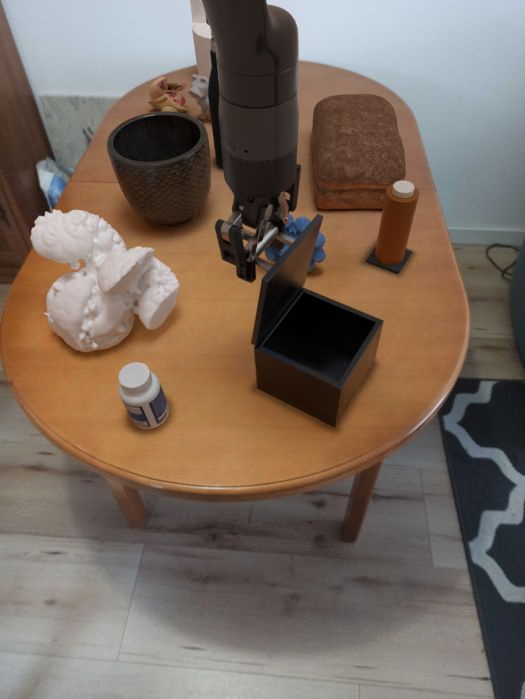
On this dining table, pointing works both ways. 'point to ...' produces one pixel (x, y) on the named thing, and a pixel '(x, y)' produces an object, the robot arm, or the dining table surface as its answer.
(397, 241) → the amber bottle
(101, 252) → the white lumpy sculpture
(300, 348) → the black hinged box
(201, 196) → the planter
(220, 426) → the dining table surface
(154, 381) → the pill bottle
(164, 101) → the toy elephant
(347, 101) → the bread
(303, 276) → the lid
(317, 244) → the grapes
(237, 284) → the dining table surface
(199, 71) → the cylinder
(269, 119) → the robot arm
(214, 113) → the black water bottle
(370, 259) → the coaster
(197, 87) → the dog figurine
